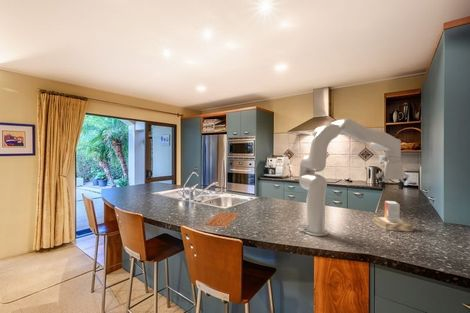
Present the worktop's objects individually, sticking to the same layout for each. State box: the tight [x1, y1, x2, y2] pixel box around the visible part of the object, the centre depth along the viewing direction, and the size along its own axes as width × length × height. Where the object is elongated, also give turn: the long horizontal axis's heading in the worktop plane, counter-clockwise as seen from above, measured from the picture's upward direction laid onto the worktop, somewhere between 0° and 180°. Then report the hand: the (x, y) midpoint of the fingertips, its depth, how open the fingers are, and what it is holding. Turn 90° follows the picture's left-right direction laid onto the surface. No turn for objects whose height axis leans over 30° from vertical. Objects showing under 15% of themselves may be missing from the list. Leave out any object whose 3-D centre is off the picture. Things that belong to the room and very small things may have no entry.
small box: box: [384, 200, 401, 222], centre depth 131 cm, size 8×6×10 cm
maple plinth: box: [373, 216, 414, 232], centre depth 130 cm, size 14×14×4 cm
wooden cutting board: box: [204, 211, 239, 228], centre depth 146 cm, size 14×30×1 cm, turn 166°
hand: (391, 188), depth 130 cm, fingers open, 9 cm apart
